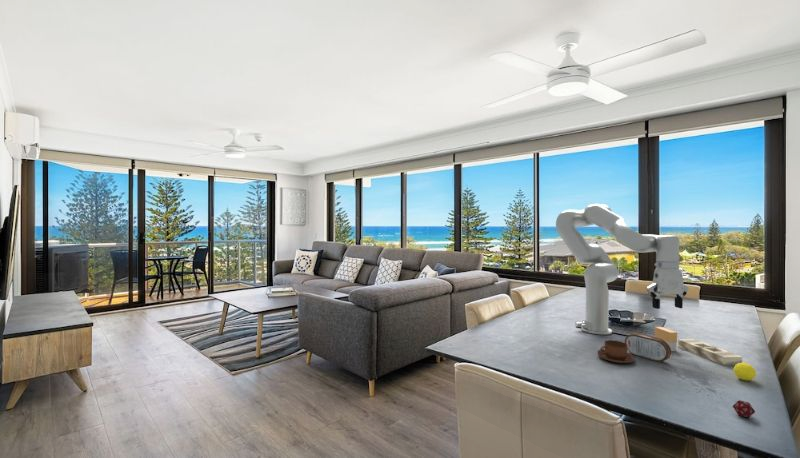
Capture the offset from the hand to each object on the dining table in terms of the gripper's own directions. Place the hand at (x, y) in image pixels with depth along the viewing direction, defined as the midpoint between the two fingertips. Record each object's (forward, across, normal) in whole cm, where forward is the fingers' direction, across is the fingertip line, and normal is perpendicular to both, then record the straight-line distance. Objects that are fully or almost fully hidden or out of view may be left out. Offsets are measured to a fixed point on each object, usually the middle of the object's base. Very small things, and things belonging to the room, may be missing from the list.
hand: (667, 307), depth 152 cm
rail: (+17, +10, -8) cm, 21 cm away
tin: (+17, -16, -9) cm, 25 cm away
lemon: (+17, +1, -30) cm, 34 cm away
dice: (+17, -22, -51) cm, 59 cm away
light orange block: (+16, 0, +1) cm, 16 cm away
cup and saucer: (+17, -29, -10) cm, 35 cm away
